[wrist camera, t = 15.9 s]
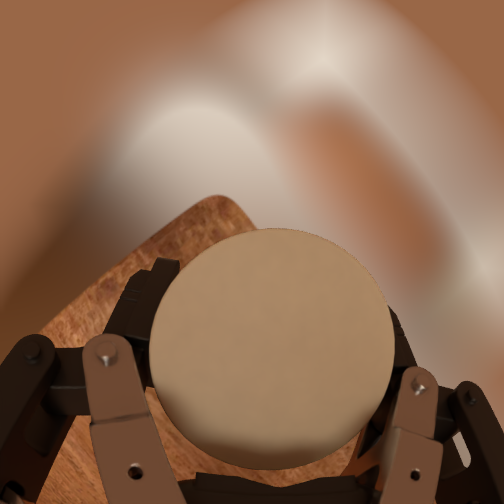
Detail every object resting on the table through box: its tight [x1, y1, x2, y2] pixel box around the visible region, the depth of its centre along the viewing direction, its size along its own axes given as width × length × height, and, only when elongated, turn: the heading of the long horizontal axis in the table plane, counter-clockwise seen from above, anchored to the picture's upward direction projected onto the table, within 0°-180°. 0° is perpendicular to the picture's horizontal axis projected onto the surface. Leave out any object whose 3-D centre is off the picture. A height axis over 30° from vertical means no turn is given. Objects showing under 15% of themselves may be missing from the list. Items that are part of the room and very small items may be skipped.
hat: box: [149, 228, 395, 470], centre depth 11 cm, size 8×8×8 cm
